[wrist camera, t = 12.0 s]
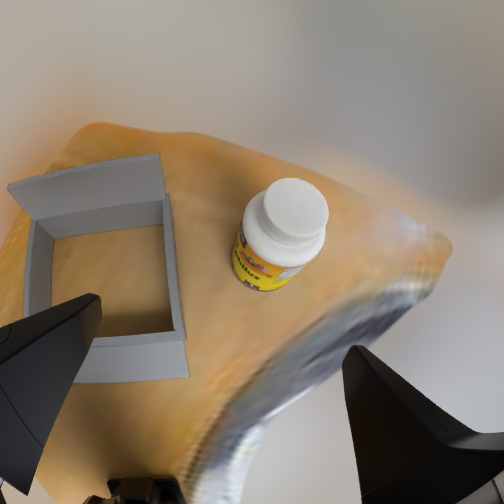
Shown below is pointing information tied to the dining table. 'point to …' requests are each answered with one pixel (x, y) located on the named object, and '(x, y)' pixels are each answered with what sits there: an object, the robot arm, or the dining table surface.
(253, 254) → the supplement bottle
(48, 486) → the dining table surface
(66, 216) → the carton
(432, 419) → the robot arm
